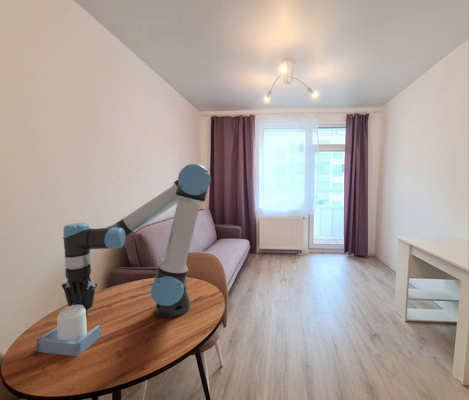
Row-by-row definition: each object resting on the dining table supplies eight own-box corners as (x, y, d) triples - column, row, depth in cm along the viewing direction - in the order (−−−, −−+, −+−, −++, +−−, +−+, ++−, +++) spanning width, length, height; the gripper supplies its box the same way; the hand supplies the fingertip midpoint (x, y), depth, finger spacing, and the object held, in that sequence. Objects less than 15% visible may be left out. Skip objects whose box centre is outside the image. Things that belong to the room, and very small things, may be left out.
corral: (100, 336, 80) (100, 325, 80) (77, 356, 70) (77, 344, 70) (64, 332, 83) (64, 322, 82) (36, 351, 73) (36, 339, 73)
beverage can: (78, 350, 73) (77, 315, 72) (52, 352, 72) (50, 317, 71) (91, 334, 81) (90, 303, 80) (67, 336, 80) (66, 304, 79)
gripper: (102, 262, 83) (104, 322, 84) (71, 261, 85) (75, 319, 86) (85, 270, 75) (89, 335, 77) (52, 268, 77) (57, 331, 79)
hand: (81, 326), depth 82 cm, fingers closed
